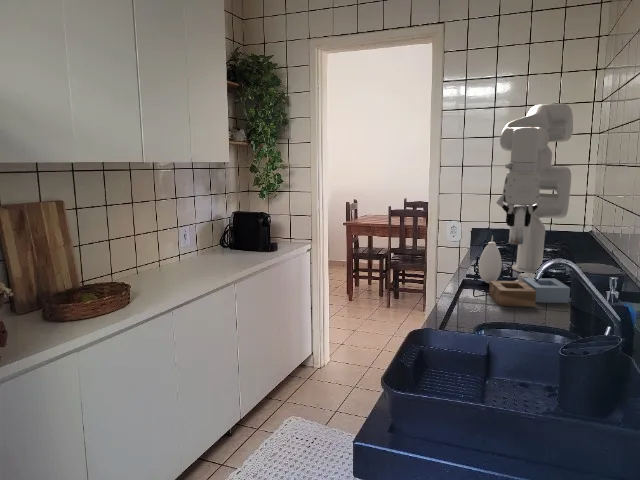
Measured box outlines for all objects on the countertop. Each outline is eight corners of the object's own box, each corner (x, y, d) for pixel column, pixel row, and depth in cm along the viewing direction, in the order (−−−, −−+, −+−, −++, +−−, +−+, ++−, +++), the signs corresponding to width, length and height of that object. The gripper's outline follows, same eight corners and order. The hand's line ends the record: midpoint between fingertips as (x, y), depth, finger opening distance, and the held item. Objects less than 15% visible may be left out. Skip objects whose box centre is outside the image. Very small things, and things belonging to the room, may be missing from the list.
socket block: (521, 291, 162) (522, 278, 161) (553, 292, 162) (554, 278, 161) (534, 302, 152) (535, 287, 151) (568, 302, 151) (570, 288, 150)
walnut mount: (488, 294, 159) (489, 280, 158) (521, 295, 158) (522, 281, 157) (499, 305, 148) (500, 290, 147) (534, 306, 148) (536, 291, 147)
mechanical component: (516, 289, 165) (547, 291, 163) (517, 278, 164) (548, 279, 162) (511, 282, 175) (540, 283, 173) (512, 270, 174) (541, 272, 172)
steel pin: (506, 241, 152) (509, 205, 149) (520, 241, 152) (523, 205, 149) (511, 244, 147) (514, 207, 145) (525, 244, 147) (529, 207, 145)
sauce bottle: (482, 278, 178) (485, 232, 175) (502, 282, 173) (507, 235, 170) (474, 283, 172) (477, 235, 169) (495, 287, 168) (499, 238, 164)
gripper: (499, 168, 141) (494, 227, 145) (555, 168, 141) (549, 228, 144) (491, 167, 149) (487, 223, 152) (545, 167, 148) (539, 224, 152)
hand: (517, 225), depth 148 cm, fingers closed on steel pin, 4 cm apart
